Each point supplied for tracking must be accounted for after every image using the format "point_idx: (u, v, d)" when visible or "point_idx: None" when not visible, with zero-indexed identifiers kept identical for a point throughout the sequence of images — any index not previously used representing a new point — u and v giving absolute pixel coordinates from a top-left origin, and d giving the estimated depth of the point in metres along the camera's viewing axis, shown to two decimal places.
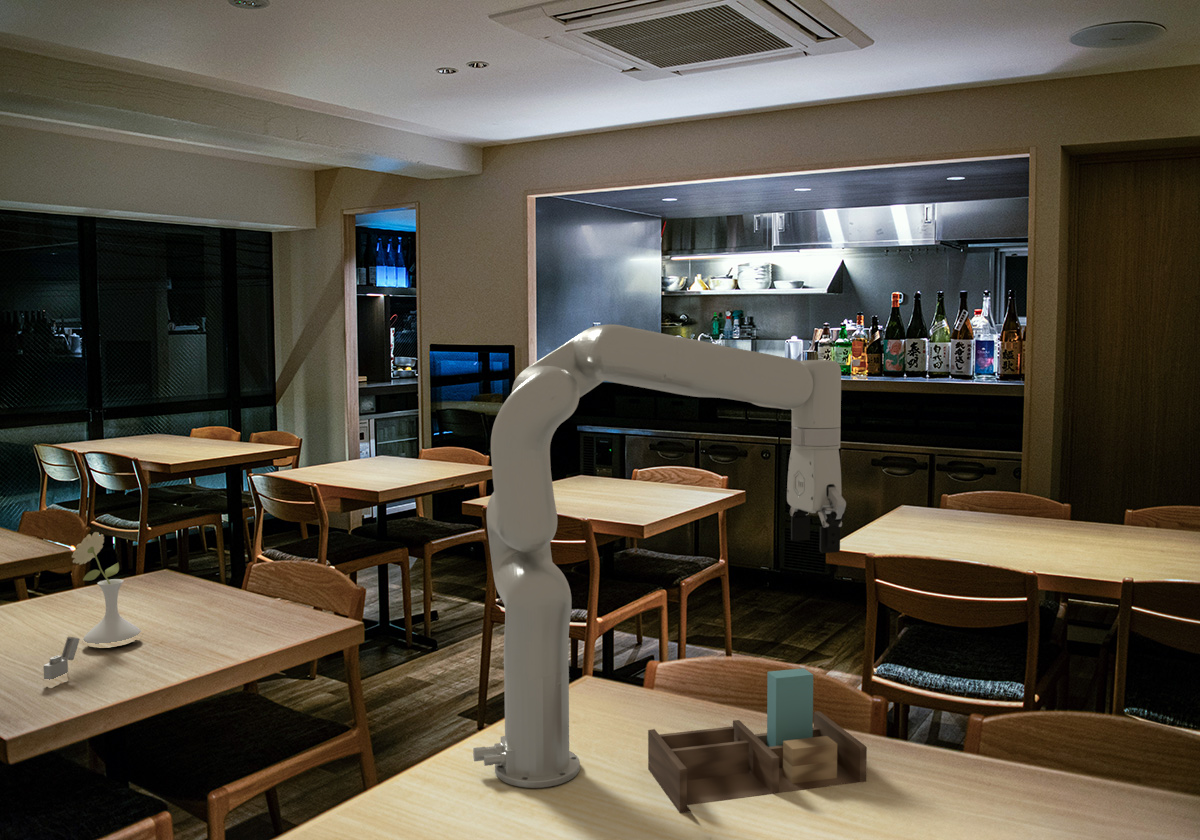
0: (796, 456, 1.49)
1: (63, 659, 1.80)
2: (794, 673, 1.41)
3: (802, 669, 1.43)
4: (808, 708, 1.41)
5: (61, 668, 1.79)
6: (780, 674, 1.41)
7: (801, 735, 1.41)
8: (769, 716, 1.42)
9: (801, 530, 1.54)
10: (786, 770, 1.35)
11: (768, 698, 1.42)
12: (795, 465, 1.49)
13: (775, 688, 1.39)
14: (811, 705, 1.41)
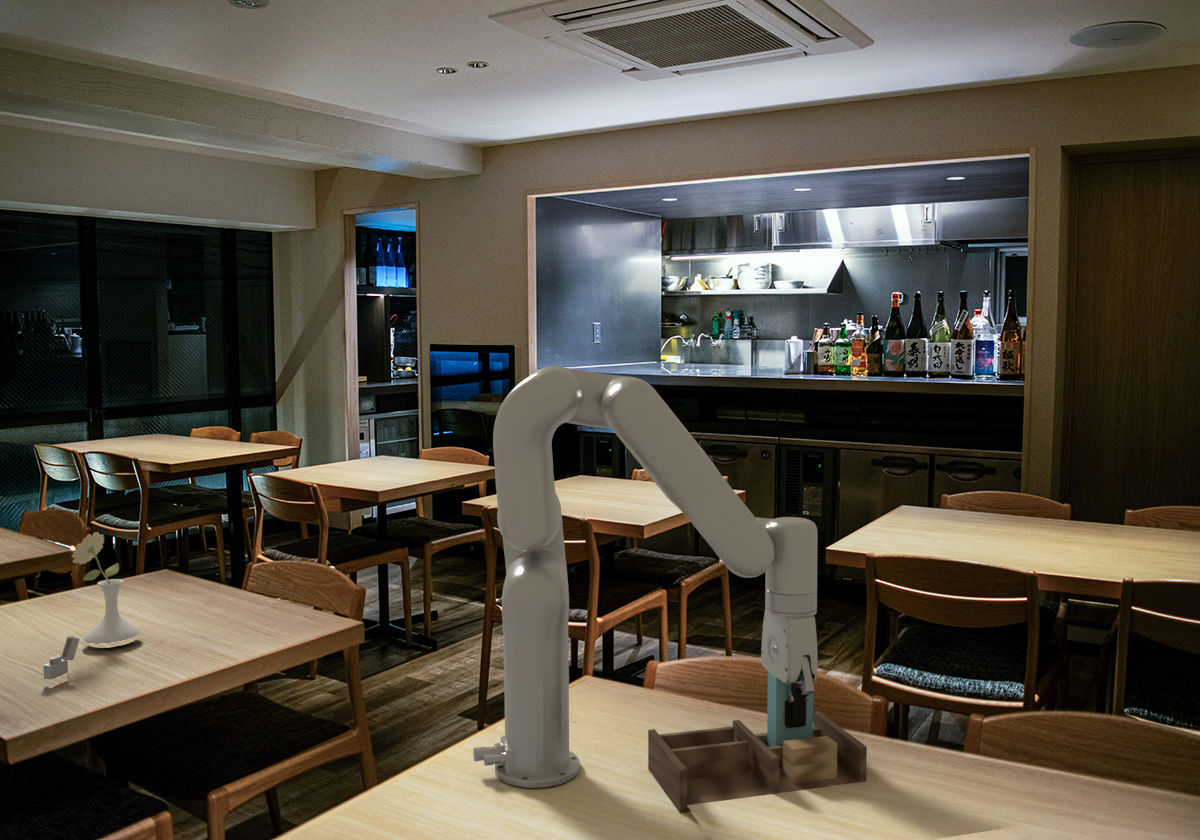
0: (770, 619, 1.41)
1: (63, 659, 1.80)
2: None
3: None
4: (808, 708, 1.41)
5: (61, 668, 1.79)
6: None
7: (802, 735, 1.41)
8: (769, 716, 1.42)
9: None
10: (786, 770, 1.35)
11: (768, 698, 1.42)
12: (769, 629, 1.41)
13: (775, 687, 1.39)
14: (811, 705, 1.41)
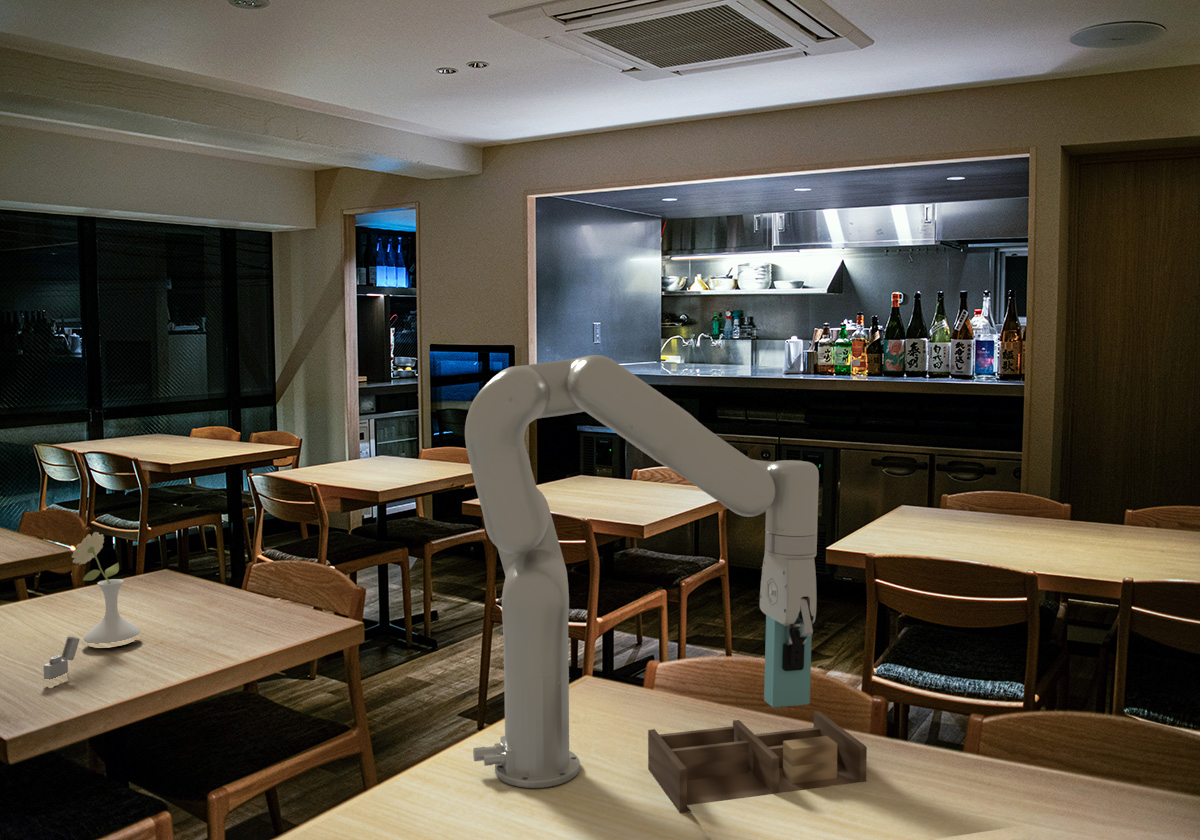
0: (770, 562, 1.40)
1: (63, 659, 1.80)
2: None
3: None
4: (806, 652, 1.40)
5: (61, 668, 1.79)
6: None
7: (799, 679, 1.40)
8: (767, 660, 1.41)
9: None
10: (786, 770, 1.35)
11: (766, 641, 1.41)
12: (769, 572, 1.41)
13: (773, 630, 1.39)
14: (809, 649, 1.40)
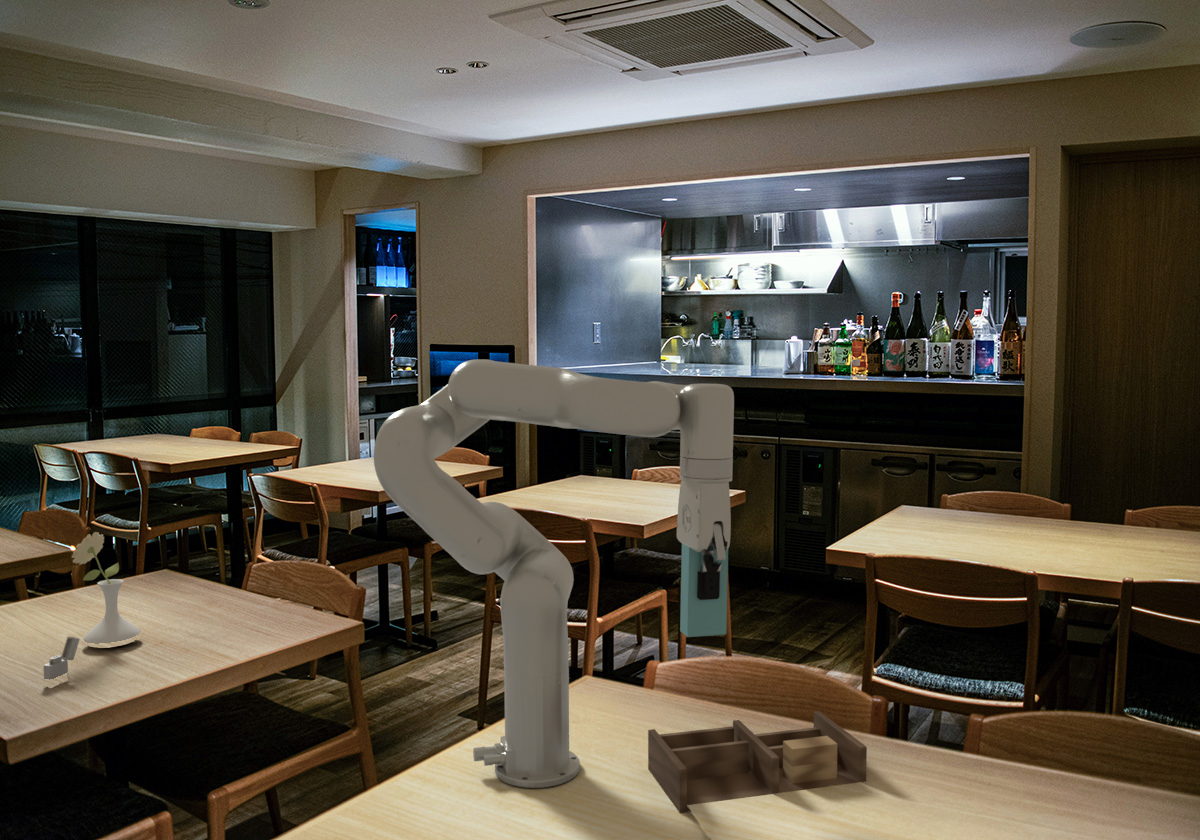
0: (685, 488, 1.36)
1: (63, 659, 1.80)
2: None
3: None
4: (722, 580, 1.36)
5: (61, 668, 1.79)
6: None
7: (715, 608, 1.36)
8: (682, 589, 1.37)
9: None
10: (786, 770, 1.35)
11: (682, 570, 1.37)
12: (684, 498, 1.36)
13: (688, 557, 1.35)
14: (726, 577, 1.36)
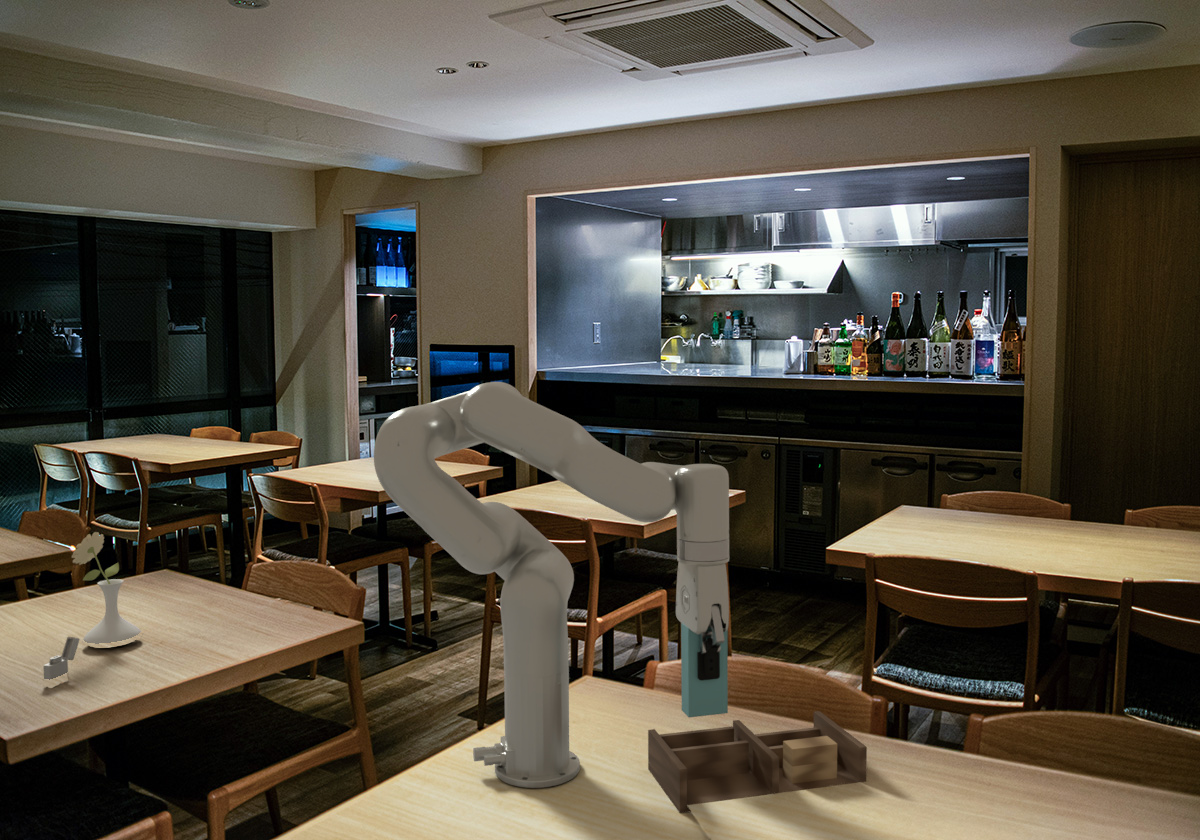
0: (682, 569, 1.37)
1: (63, 659, 1.80)
2: None
3: None
4: (722, 660, 1.37)
5: (61, 668, 1.79)
6: None
7: (716, 688, 1.37)
8: (683, 669, 1.38)
9: None
10: (786, 770, 1.35)
11: (682, 650, 1.38)
12: (682, 579, 1.37)
13: (687, 638, 1.35)
14: (725, 657, 1.37)
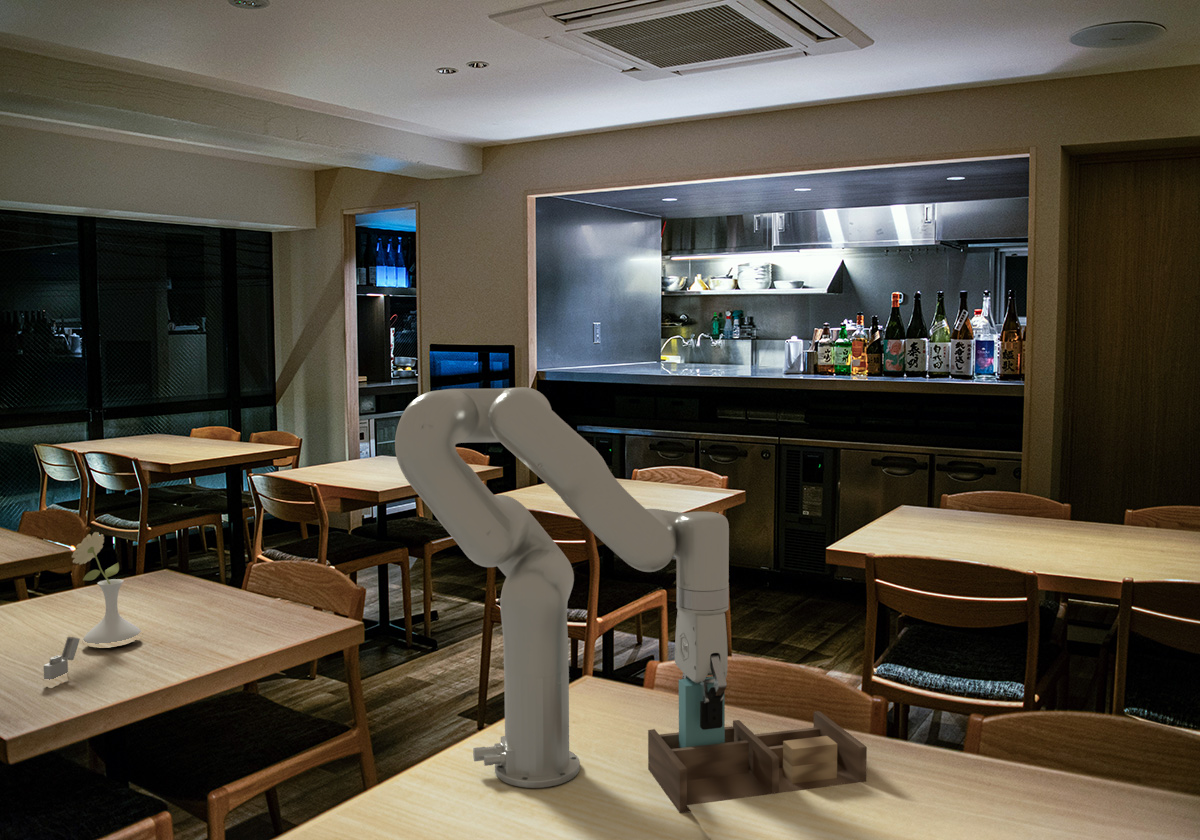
0: (682, 616, 1.37)
1: (63, 659, 1.80)
2: None
3: None
4: None
5: (61, 668, 1.79)
6: (691, 682, 1.37)
7: None
8: (680, 726, 1.38)
9: None
10: (786, 770, 1.35)
11: (679, 706, 1.39)
12: (681, 626, 1.38)
13: (685, 696, 1.36)
14: (723, 714, 1.37)
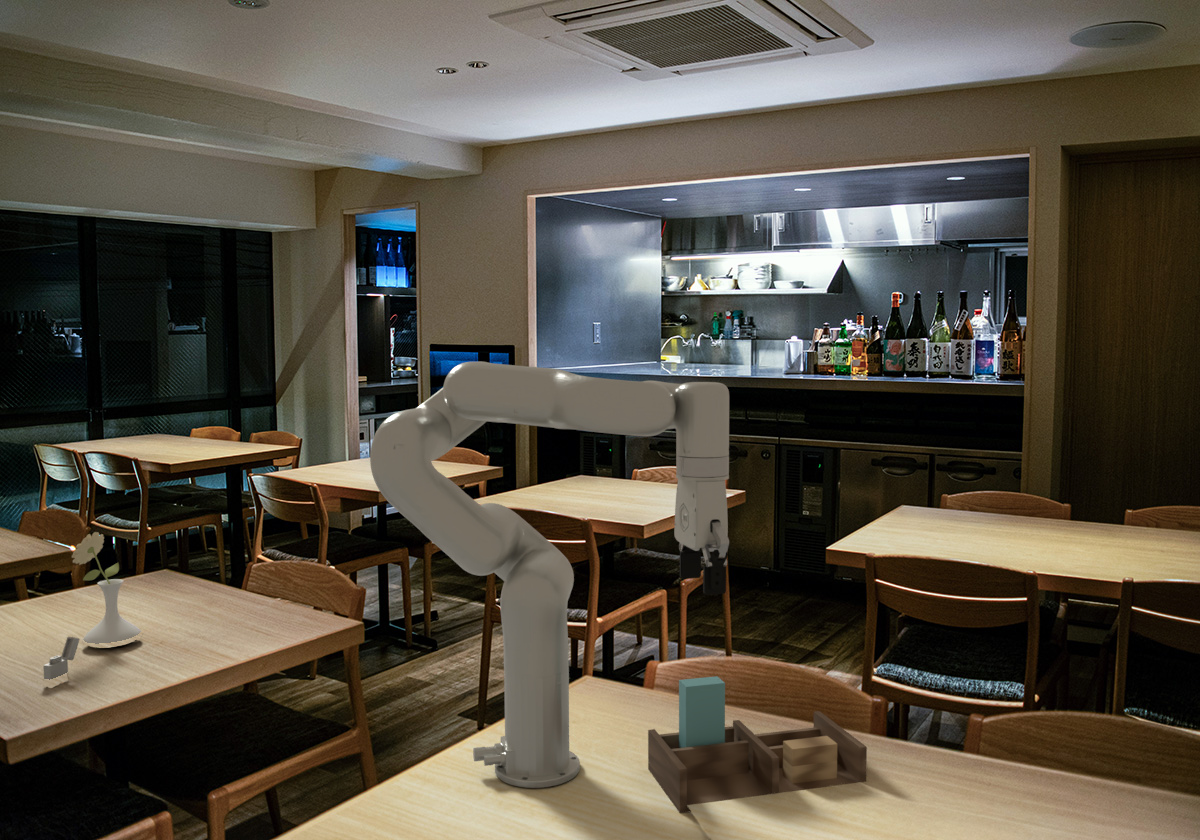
0: (682, 487, 1.36)
1: (63, 659, 1.80)
2: (705, 681, 1.38)
3: (715, 677, 1.39)
4: (720, 717, 1.37)
5: (61, 668, 1.79)
6: (691, 682, 1.37)
7: None
8: (680, 726, 1.38)
9: (691, 567, 1.41)
10: (786, 770, 1.35)
11: (679, 707, 1.38)
12: (681, 497, 1.36)
13: (685, 696, 1.36)
14: (723, 714, 1.37)
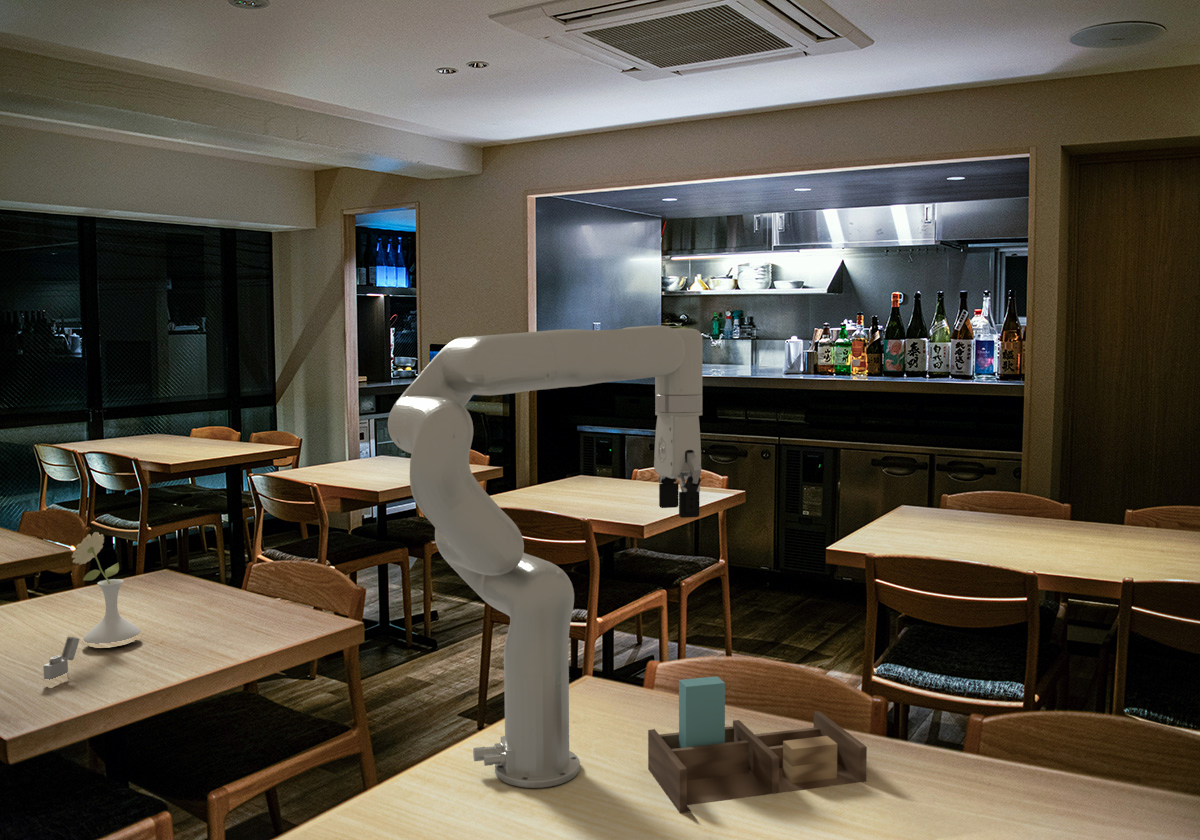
0: (660, 423, 1.51)
1: (63, 659, 1.80)
2: (705, 681, 1.38)
3: (715, 677, 1.39)
4: (720, 717, 1.37)
5: (61, 668, 1.79)
6: (691, 682, 1.37)
7: None
8: (680, 726, 1.38)
9: (669, 497, 1.56)
10: (786, 770, 1.35)
11: (679, 707, 1.38)
12: (659, 432, 1.52)
13: (685, 696, 1.36)
14: (723, 714, 1.37)
